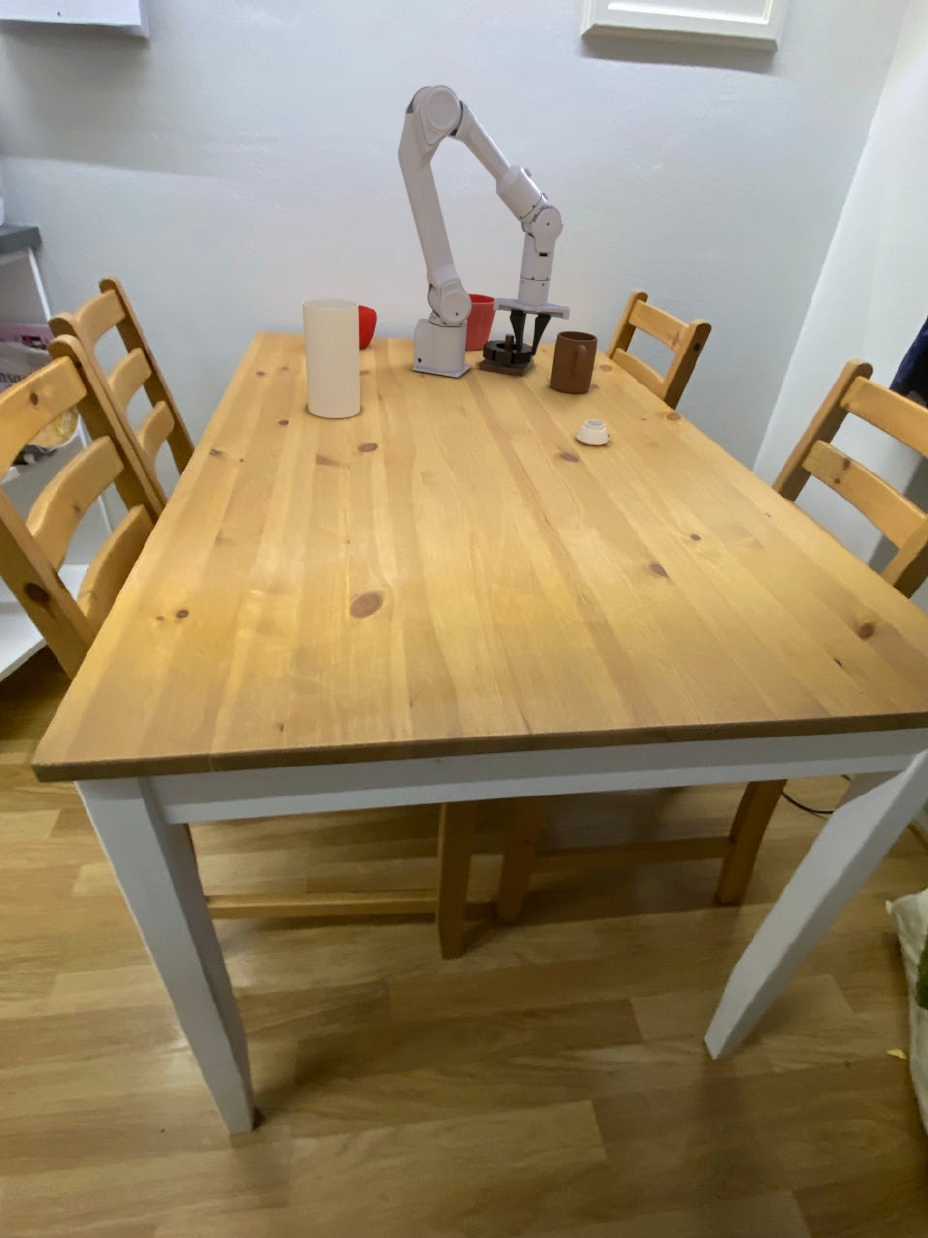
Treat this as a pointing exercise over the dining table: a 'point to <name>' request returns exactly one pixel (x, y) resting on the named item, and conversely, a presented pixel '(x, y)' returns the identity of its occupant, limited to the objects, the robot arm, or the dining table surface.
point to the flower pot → (479, 321)
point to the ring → (507, 353)
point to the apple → (366, 325)
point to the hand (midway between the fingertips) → (526, 353)
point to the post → (505, 368)
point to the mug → (573, 361)
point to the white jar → (593, 432)
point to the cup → (332, 356)
